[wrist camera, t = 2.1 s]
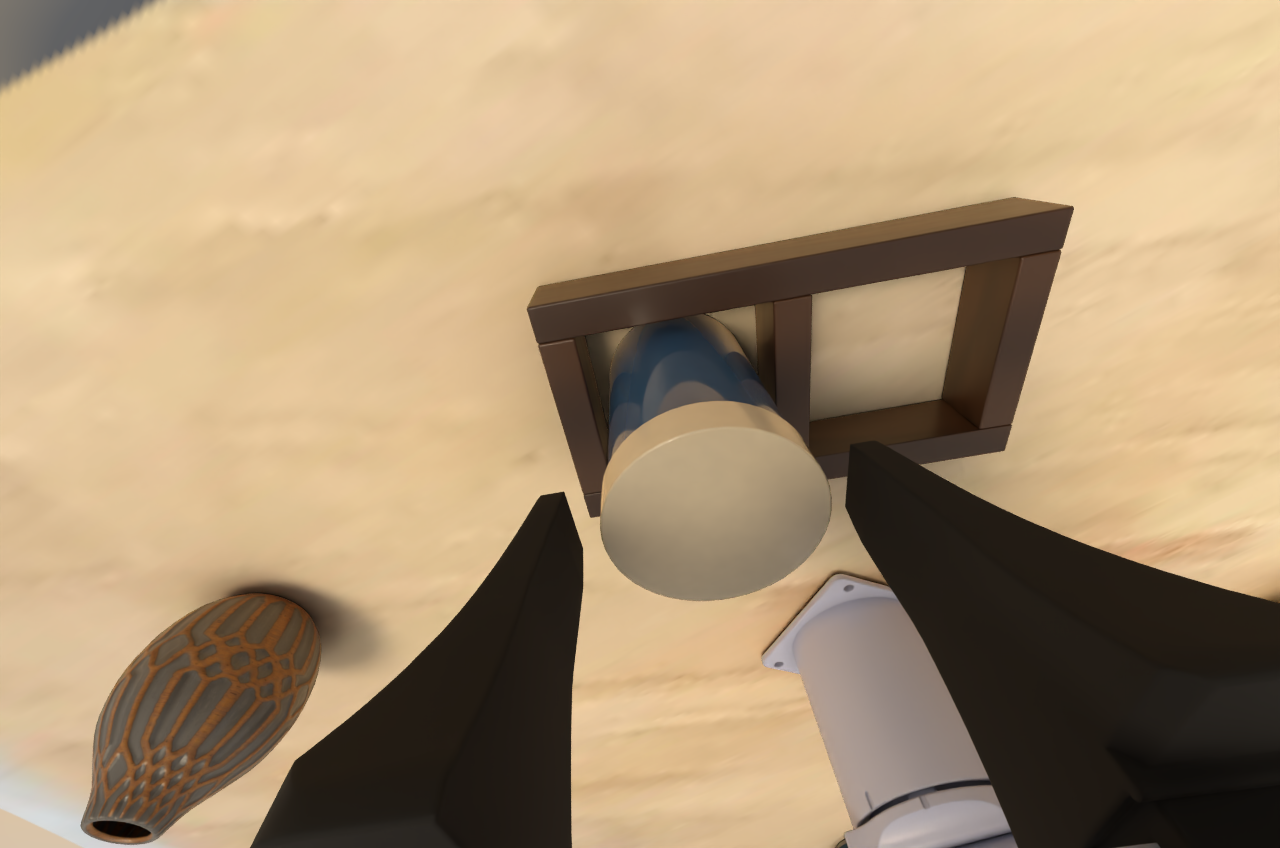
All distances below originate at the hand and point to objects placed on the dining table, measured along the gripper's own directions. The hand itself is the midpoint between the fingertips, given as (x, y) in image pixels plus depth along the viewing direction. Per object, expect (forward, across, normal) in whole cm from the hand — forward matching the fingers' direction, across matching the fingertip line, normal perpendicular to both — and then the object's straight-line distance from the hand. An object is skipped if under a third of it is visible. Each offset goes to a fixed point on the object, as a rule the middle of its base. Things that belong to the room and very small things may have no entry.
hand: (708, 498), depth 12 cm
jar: (+7, 0, 0) cm, 7 cm away
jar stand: (+7, -4, 0) cm, 8 cm away
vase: (+8, +22, +10) cm, 25 cm away
